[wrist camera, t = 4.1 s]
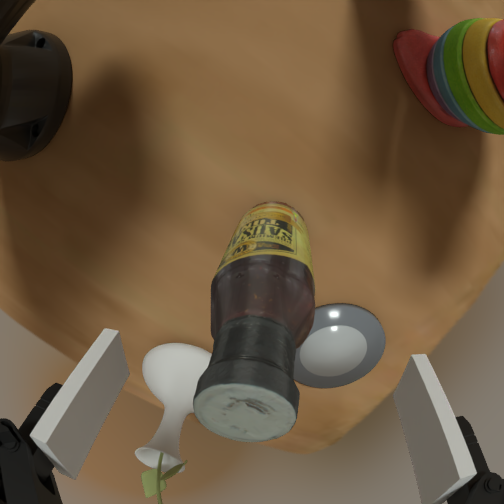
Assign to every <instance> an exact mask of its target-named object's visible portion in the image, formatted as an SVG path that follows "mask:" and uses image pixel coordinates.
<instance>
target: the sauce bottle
mask: <svg viewBox="0 0 504 504" xmlns="http://www.w3.org/2000/svg"><path fill="white" fill-rule="evenodd" d="M314 296H315V282H314V275H313V266H312V258H311V250H310V243H309V236H308V231H307V227H306V225H305V223H304V220H303V218H302V217H301V215H300V214H299V212H297V211H296V210H295V209H294V208H292V207H291V206H289V205H287V204H286V203H282V202H264V203H262V204H258V205H256V206H255V207H253V208H252V209H251V210H249V211H248V212H247V213H246V214H245V215H244V216H243V217H242V219H241V220H240V222H239V224H238V226H237V228H236V230H235V232H234V235H233V237H232V239H231V241H230V243H229V245H228V248H227V250H226V252H225V254H224V256H223V258H222V261H221V263H220V265H219V267H218V270H217V272H216V274H215V276H214V278H213V281H212V284H211V335H212V337H213V339H214V344H213V353H212V356H211V358H210V362H209V365H208V368H207V369H206V370H205V371H204V373H203V374H202V375H201V376H200V378H199V380H198V383H197V388H196V392H195V395H194V398H193V409H194V413H195V416H196V417H197V418H198V420H199V422H200V423H201V424H202V425H204V426H205V427H206V428H207V429H209V430H210V431H212V432H214V433H216V434H218V435H220V436H223V437H226V438H229V439H232V440H237V441H243V442H262V441H267V440H271V439H276V438H279V437H281V436H283V435H285V434H286V433H288V432H289V431H290V430H291V428H292V427H293V425H294V424H295V422H296V419H297V413H298V405H299V390H298V388H297V386H296V384H295V382H294V361H295V355H296V349H297V348H299V347H300V346H301V344H303V342H304V341H305V340H306V339H307V337H308V335H309V333H310V331H311V329H312V327H313V323H314V315H315V300H314Z"/></svg>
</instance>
